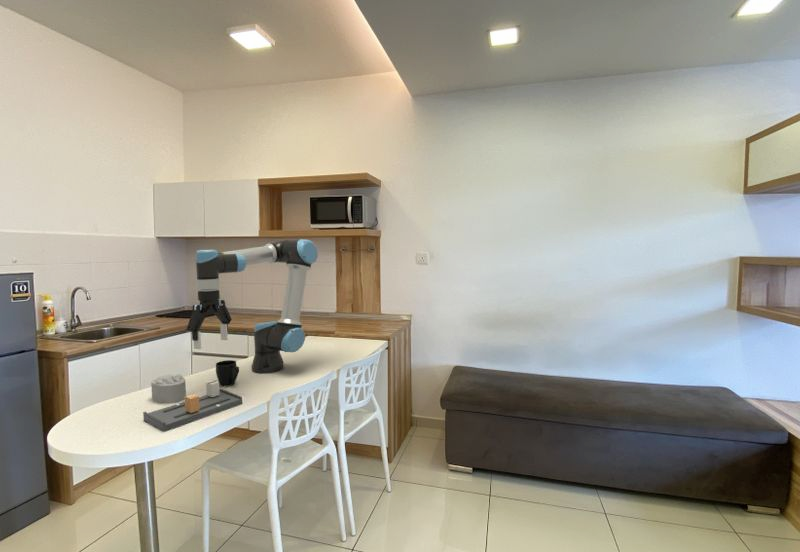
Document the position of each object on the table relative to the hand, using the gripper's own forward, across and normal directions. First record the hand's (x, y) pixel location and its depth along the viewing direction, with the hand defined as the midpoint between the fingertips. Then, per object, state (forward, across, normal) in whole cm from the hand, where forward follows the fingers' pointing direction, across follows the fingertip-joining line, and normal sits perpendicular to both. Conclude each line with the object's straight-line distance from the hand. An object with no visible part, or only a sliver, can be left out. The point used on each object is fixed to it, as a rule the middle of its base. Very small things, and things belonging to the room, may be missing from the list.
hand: (211, 344), depth 153 cm
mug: (+22, -15, -6) cm, 28 cm away
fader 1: (+19, +16, +5) cm, 25 cm away
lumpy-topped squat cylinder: (+22, +4, -18) cm, 29 cm away
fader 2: (+19, +2, +1) cm, 20 cm away
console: (+22, +12, +2) cm, 25 cm away
